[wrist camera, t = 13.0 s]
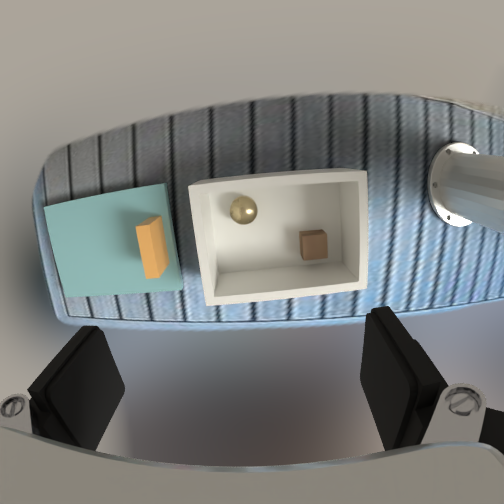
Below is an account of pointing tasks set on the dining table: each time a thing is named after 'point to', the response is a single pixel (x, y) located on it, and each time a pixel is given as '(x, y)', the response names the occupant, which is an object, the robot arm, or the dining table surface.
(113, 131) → the dining table surface
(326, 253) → the walnut block
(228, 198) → the tub
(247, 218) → the brass ball
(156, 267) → the lid
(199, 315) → the dining table surface
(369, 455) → the robot arm
